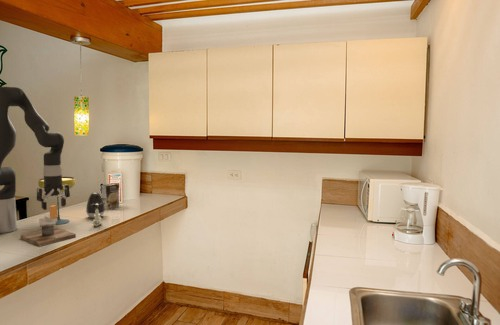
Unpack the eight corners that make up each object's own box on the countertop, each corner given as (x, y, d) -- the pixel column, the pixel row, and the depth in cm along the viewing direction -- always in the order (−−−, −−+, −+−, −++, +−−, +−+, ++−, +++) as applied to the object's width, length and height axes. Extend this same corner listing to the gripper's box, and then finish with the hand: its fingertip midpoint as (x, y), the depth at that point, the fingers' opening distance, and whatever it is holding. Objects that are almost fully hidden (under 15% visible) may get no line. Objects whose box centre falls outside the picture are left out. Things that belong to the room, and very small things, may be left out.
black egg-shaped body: (89, 220, 204) (88, 194, 203) (84, 216, 212) (83, 192, 210) (107, 217, 211) (106, 192, 209) (101, 214, 219) (100, 190, 217)
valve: (90, 226, 191) (89, 205, 190) (92, 223, 197) (91, 202, 196) (103, 226, 193) (102, 204, 192) (104, 222, 199) (104, 202, 198)
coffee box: (107, 210, 229) (106, 185, 227) (101, 208, 232) (100, 184, 231) (119, 207, 236) (118, 184, 234) (114, 206, 240) (113, 183, 238)
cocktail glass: (51, 217, 208) (49, 176, 205) (82, 218, 208) (80, 176, 206) (33, 226, 190) (30, 181, 187) (66, 227, 190) (64, 181, 188)
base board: (20, 238, 171) (19, 226, 170) (55, 230, 185) (55, 218, 184) (39, 246, 160) (38, 233, 159) (75, 236, 174) (75, 225, 173)
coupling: (47, 230, 164) (46, 207, 163) (37, 225, 171) (36, 203, 170) (62, 226, 169) (61, 205, 168) (51, 222, 176) (50, 201, 175)
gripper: (40, 176, 157) (42, 212, 159) (71, 173, 169) (73, 206, 171) (32, 175, 161) (34, 209, 163) (63, 172, 173) (64, 204, 175)
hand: (54, 207), depth 167 cm, fingers open, 8 cm apart
